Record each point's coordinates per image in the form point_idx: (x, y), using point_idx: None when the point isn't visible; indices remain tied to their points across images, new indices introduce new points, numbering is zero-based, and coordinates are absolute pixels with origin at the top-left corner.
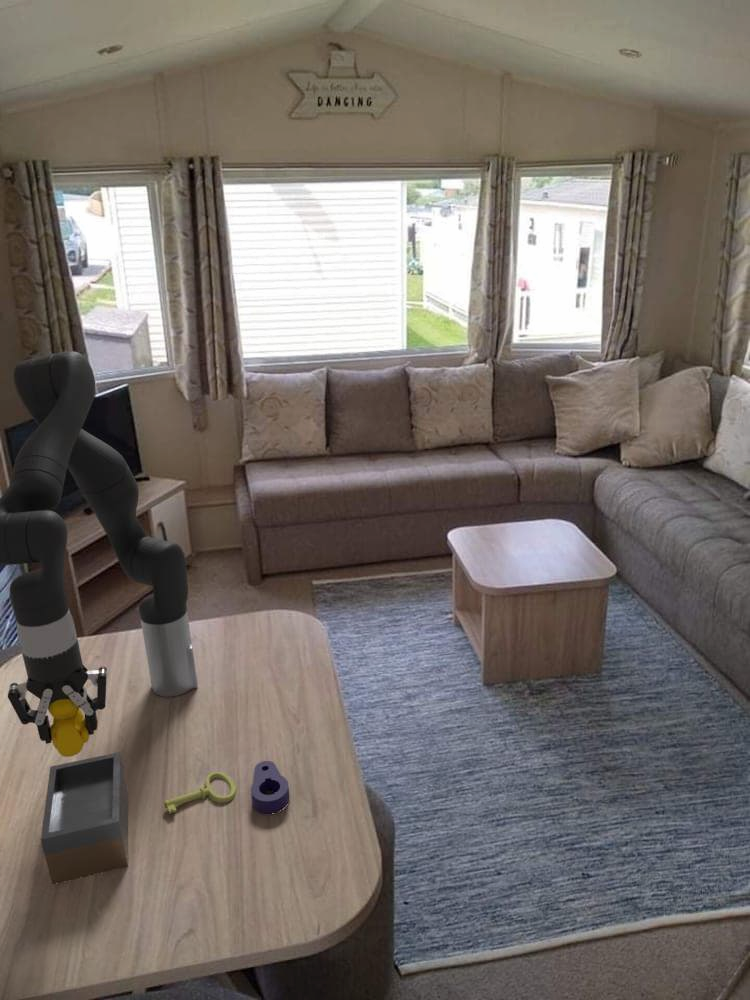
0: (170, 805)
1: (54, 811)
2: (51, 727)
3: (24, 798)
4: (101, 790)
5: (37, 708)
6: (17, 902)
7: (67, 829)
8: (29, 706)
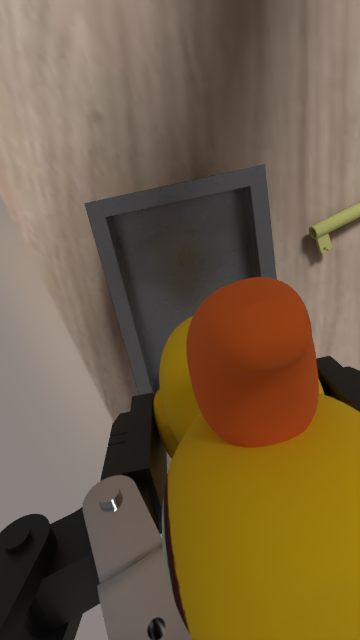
0: (323, 237)
1: (137, 323)
2: (171, 456)
3: (17, 161)
4: (219, 259)
5: (89, 536)
6: (109, 388)
7: None
8: (27, 581)
